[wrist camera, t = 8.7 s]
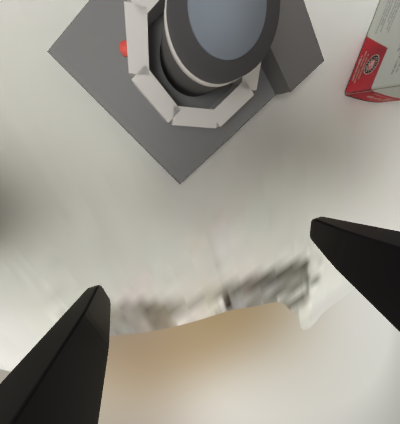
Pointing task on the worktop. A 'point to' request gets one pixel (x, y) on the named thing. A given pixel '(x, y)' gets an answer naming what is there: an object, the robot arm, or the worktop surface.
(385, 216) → the worktop surface
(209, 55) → the lens
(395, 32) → the ink box
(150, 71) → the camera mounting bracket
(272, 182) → the worktop surface
